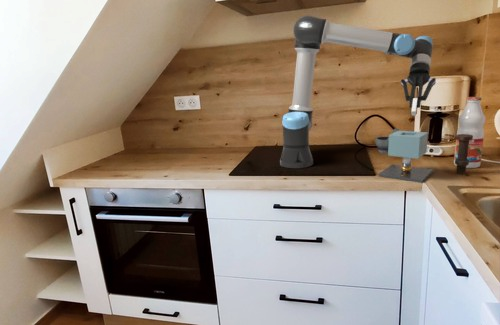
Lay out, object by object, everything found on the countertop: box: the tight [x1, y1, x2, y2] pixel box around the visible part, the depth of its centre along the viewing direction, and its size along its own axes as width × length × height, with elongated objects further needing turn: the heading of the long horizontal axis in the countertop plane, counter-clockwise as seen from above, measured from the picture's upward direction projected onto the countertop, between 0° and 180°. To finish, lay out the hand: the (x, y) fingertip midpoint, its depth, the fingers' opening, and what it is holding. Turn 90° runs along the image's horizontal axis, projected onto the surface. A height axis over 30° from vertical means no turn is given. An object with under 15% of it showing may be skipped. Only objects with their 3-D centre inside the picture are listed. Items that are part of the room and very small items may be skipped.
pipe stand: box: [377, 157, 434, 184], centre depth 136 cm, size 16×16×10 cm
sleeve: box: [387, 130, 429, 159], centre depth 134 cm, size 11×11×8 cm
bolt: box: [454, 134, 473, 175], centre depth 133 cm, size 6×5×15 cm
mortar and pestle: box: [374, 127, 400, 154], centre depth 172 cm, size 11×9×12 cm
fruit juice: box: [453, 96, 486, 169], centre depth 140 cm, size 9×9×28 cm
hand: (413, 113), depth 134 cm, fingers closed
